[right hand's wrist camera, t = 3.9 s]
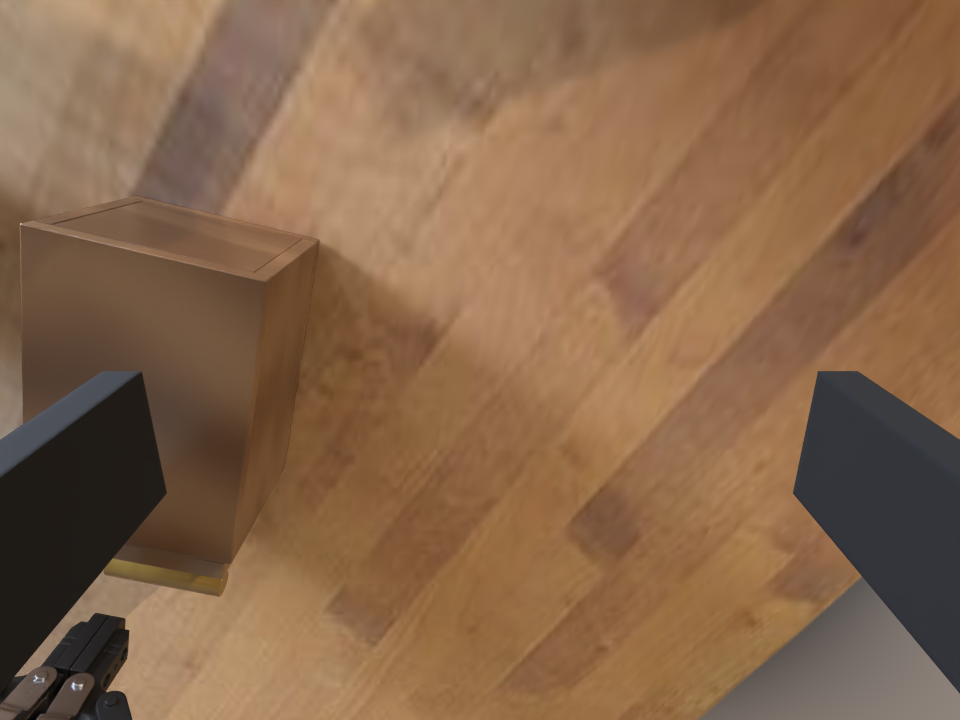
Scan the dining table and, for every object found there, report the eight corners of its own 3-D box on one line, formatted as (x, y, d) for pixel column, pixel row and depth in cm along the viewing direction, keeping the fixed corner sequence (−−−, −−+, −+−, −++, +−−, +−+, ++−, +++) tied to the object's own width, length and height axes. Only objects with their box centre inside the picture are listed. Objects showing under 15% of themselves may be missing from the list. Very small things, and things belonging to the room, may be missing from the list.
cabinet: (284, 467, 43) (230, 565, 34) (125, 434, 42) (24, 524, 33) (320, 239, 37) (266, 281, 28) (136, 195, 36) (18, 222, 27)
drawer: (259, 558, 45) (213, 649, 37) (122, 531, 44) (47, 619, 36) (298, 291, 38) (252, 336, 30) (136, 253, 37) (46, 289, 29)
